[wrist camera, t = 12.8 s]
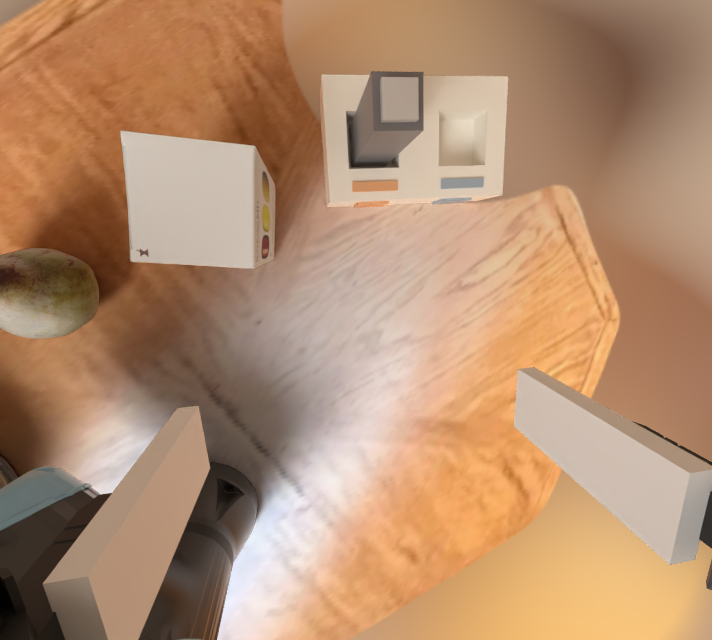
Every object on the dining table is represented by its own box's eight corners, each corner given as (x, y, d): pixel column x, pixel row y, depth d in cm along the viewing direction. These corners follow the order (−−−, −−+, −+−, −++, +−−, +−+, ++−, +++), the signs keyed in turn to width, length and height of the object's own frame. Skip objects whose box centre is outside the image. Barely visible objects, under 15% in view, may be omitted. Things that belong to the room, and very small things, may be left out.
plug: (351, 167, 38) (375, 128, 25) (349, 128, 37) (373, 67, 24) (385, 166, 39) (426, 128, 25) (384, 128, 38) (426, 68, 24)
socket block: (326, 209, 42) (330, 204, 36) (319, 99, 39) (321, 73, 33) (476, 203, 44) (503, 197, 38) (480, 99, 41) (509, 75, 35)
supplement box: (275, 261, 42) (256, 275, 26) (198, 257, 41) (127, 268, 24) (276, 181, 40) (256, 141, 24) (195, 173, 39) (115, 125, 22)
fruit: (93, 236, 38) (2, 234, 27) (133, 310, 41) (66, 337, 29) (5, 265, 38) (-127, 276, 26) (51, 339, 40) (-50, 378, 29)
